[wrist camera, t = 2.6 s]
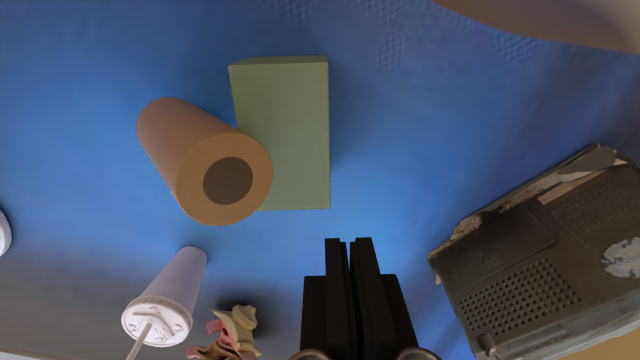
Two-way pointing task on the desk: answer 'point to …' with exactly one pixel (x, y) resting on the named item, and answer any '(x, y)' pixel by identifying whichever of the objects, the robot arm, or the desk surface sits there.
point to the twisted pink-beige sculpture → (230, 336)
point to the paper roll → (205, 161)
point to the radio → (549, 262)
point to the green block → (287, 124)
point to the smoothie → (166, 302)
